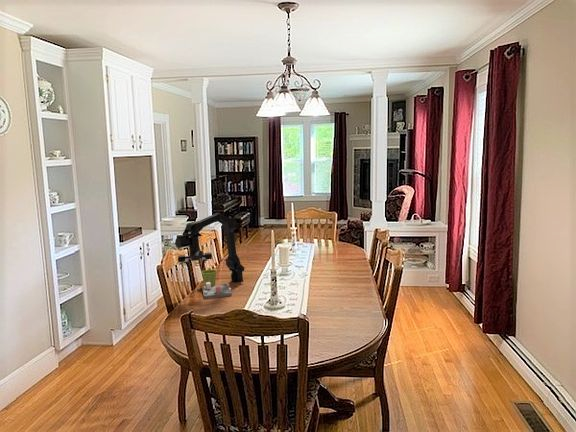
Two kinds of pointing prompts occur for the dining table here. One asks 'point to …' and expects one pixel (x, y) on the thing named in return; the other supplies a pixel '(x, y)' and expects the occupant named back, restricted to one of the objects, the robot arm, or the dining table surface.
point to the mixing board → (212, 292)
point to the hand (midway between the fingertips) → (196, 272)
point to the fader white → (208, 285)
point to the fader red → (218, 289)
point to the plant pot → (209, 276)
